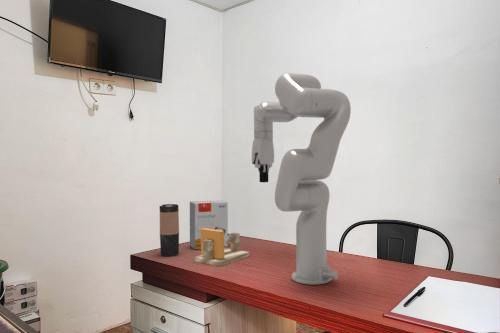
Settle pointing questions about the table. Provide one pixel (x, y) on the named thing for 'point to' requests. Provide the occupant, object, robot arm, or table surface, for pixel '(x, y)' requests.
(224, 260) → the pipe stand
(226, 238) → the pipe
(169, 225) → the travel mug
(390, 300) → the table surface
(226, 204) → the hard drive box
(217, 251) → the collar
